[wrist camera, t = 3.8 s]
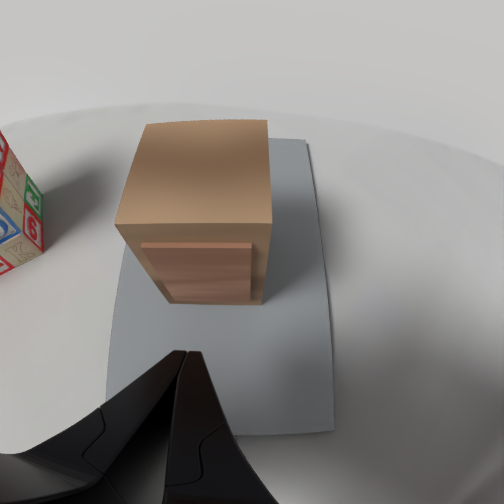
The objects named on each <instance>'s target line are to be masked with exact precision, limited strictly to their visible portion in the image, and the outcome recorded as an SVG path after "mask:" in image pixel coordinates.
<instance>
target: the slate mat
mask: <svg viewBox="0 0 504 504" xmlns="http://www.w3.org/2000/svg"><path fill="white" fill-rule="evenodd" d="M268 145H269V163H270V182H271V203H272V230H271V238H270V245H269V252H268V260H267V267H266V274H265V281H264V288H263V295H262V302H261V305H196V304H169V302H168V301H167V300H166V298H165V297H164V296H163V294H162V293H161V292H160V290H159V289H158V288H157V286H156V285H155V283H154V282H153V281H152V279H151V278H150V276H149V275H148V274H147V272H146V271H145V269H144V268H143V267H142V265H141V264H140V262H139V261H138V259H137V258H136V256H135V255H134V253H133V252H132V251H131V249H130V248H129V246H128V245H127V243H126V246H125V250H124V255H123V260H122V266H121V271H120V277H119V282H118V288H117V294H116V301H115V308H114V315H113V322H112V330H111V339H110V348H109V358H108V370H107V385H106V401H108V400H109V399H110V398H112V397H113V396H114V395H116V394H117V393H118V392H120V391H121V390H122V389H124V388H125V387H126V386H128V385H129V384H130V383H131V382H133V381H134V380H135V379H137V378H138V377H139V376H141V375H142V374H143V373H145V372H146V371H147V370H148V369H150V368H151V367H152V366H154V365H155V364H156V363H157V362H159V361H160V360H161V359H163V358H164V357H165V356H166V355H168V354H169V353H170V352H171V351H173V350H185V351H187V352H188V351H201V352H202V354H203V357H204V360H205V363H206V366H207V368H208V371H209V374H210V377H211V380H212V382H213V385H214V388H215V390H216V393H217V396H218V398H219V401H220V404H221V406H222V409H223V411H224V414H225V416H226V419H227V421H228V424H229V426H230V429H231V431H232V433H233V435H286V434H302V433H314V432H325V431H334V430H335V420H334V386H333V365H332V348H331V333H330V320H329V308H328V297H327V287H326V277H325V268H324V259H323V251H322V243H321V235H320V227H319V220H318V213H317V206H316V199H315V192H314V186H313V180H312V174H311V168H310V162H309V156H308V150H307V145H306V140H299V139H275V138H268Z"/></svg>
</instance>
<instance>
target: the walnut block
mask: <svg viewBox="0 0 504 504" xmlns="http://www.w3.org/2000/svg"><path fill="white" fill-rule="evenodd" d="M114 225H115V226H116V228H117V229H118V231H119V232H120V234H121V235H122V237H123V239H124V240H125V242H126V243H127V245H128V246H129V248H130V249H131V251H132V252H133V253H134V255H135V256H136V258H137V259H138V261H139V262H140V264H141V265H142V267H143V268H144V269H145V271H146V272H147V274H148V275H149V276H150V278H151V279H152V281H153V282H154V283H155V285H156V286H157V288H158V289H159V290H160V292H161V293H162V294H163V296H164V297H165V298H166V300H167V301H168V302H169V304H196V305H261V302H262V295H263V288H264V281H265V274H266V267H267V260H268V252H269V245H270V238H271V230H272V203H271V182H270V163H269V145H268V128H267V120H199V121H181V122H167V123H155V124H146V126H145V129H144V132H143V134H142V137H141V140H140V143H139V145H138V148H137V151H136V154H135V157H134V160H133V163H132V166H131V169H130V172H129V175H128V178H127V181H126V185H125V188H124V191H123V195H122V198H121V201H120V205H119V209H118V212H117V216H116V220H115V223H114Z"/></svg>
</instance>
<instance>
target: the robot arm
mask: <svg viewBox="0 0 504 504" xmlns="http://www.w3.org/2000/svg"><path fill="white" fill-rule="evenodd" d="M0 504H279V503H278V502H277V501H276V500H275V498H274V497H273V496H272V495H271V493H270V492H269V491H268V489H267V488H266V487H265V485H264V484H263V483H262V481H261V480H260V478H259V477H258V476H257V474H256V473H255V471H254V470H253V468H252V467H251V465H250V464H249V463H248V461H247V459H246V458H245V456H244V455H243V453H242V451H241V449H240V448H239V446H238V444H237V442H236V440H235V438H234V436H233V433H232V431H231V429H230V426H229V424H228V421H227V419H226V416H225V414H224V411H223V409H222V406H221V404H220V401H219V398H218V396H217V393H216V390H215V388H214V385H213V382H212V380H211V377H210V374H209V371H208V368H207V366H206V363H205V360H204V357H203V354H202V352H201V351H188V352H187V351H185V350H173V351H171V352H170V353H169V354H168V355H166V356H165V357H164V358H163V359H161V360H160V361H159V362H157V363H156V364H155V365H154V366H152V367H151V368H150V369H148V370H147V371H146V372H145V373H143V374H142V375H141V376H139V377H138V378H137V379H135V380H134V381H133V382H131V383H130V384H129V385H128V386H126V387H125V388H124V389H122V390H121V391H120V392H118V393H117V394H116V395H114V396H113V397H112V398H110V399H109V400H108V401H106V402H105V403H104V404H102V405H101V406H100V408H97V409H96V410H94V411H93V412H92V413H90V414H89V415H87V416H86V417H84V418H83V419H82V420H80V421H79V422H77V423H76V424H74V425H72V426H71V427H69V428H67V429H66V430H64V431H62V432H61V433H59V434H57V435H55V436H54V437H52V438H50V439H48V440H46V441H44V442H43V443H41V444H39V445H37V446H35V447H33V448H32V449H29V450H27V451H25V452H22V453H17V454H1V453H0Z"/></svg>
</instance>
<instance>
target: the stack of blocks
mask: <svg viewBox="0 0 504 504" xmlns="http://www.w3.org/2000/svg"><path fill="white" fill-rule="evenodd" d="M42 254H43V229H42V194H41V192H40V191H39V190H38V188H37V187H36V185H35V184H34V182H33V181H32V180H31V178H30V177H29V176H28V174H27V173H26V172H25V170H24V169H23V167H22V166H21V164H20V163H19V161H18V159H17V158H16V156H15V155H14V153H13V152H12V150H11V149H10V148H9V145H8V143H7V141H6V139H5V138H4V136H3V135H2V133H1V131H0V275H2V274H4V273H6V272H7V271H9V270H11V269H13V268H15V267H17V266H19V265H21V264H23V263H25V262H27V261H29V260H31V259H33V258H36V257H38V256H40V255H42Z"/></svg>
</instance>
